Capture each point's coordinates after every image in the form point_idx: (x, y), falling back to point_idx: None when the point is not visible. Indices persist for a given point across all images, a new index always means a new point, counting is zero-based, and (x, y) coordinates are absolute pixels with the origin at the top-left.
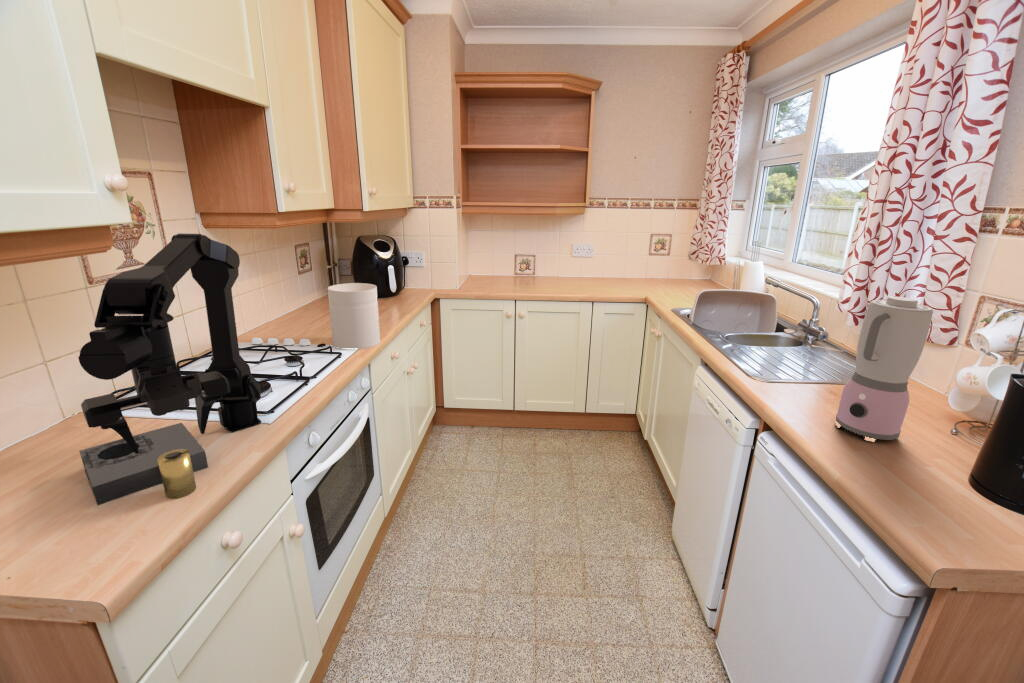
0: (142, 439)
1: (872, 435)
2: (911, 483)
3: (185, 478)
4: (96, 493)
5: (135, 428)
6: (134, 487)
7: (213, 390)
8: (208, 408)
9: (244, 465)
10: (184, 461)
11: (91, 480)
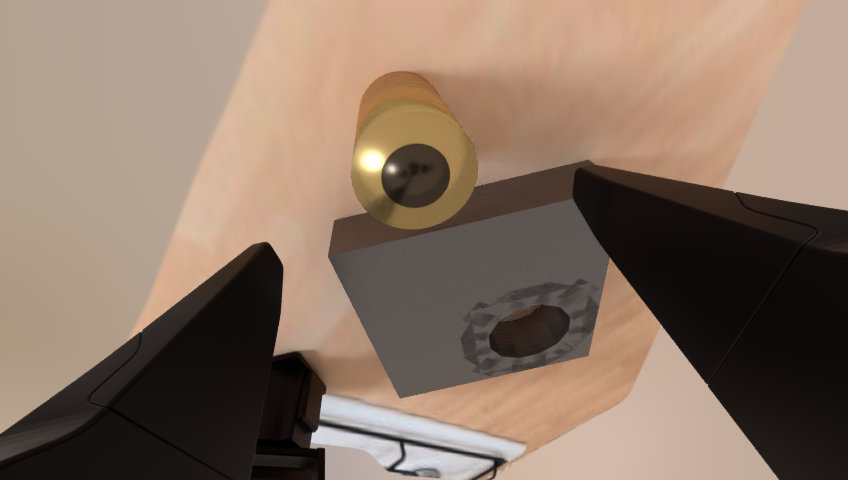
0: (480, 360)
1: None
2: None
3: (379, 94)
4: None
5: (476, 404)
6: (513, 186)
7: None
8: (52, 412)
9: (218, 180)
10: (371, 122)
11: None
